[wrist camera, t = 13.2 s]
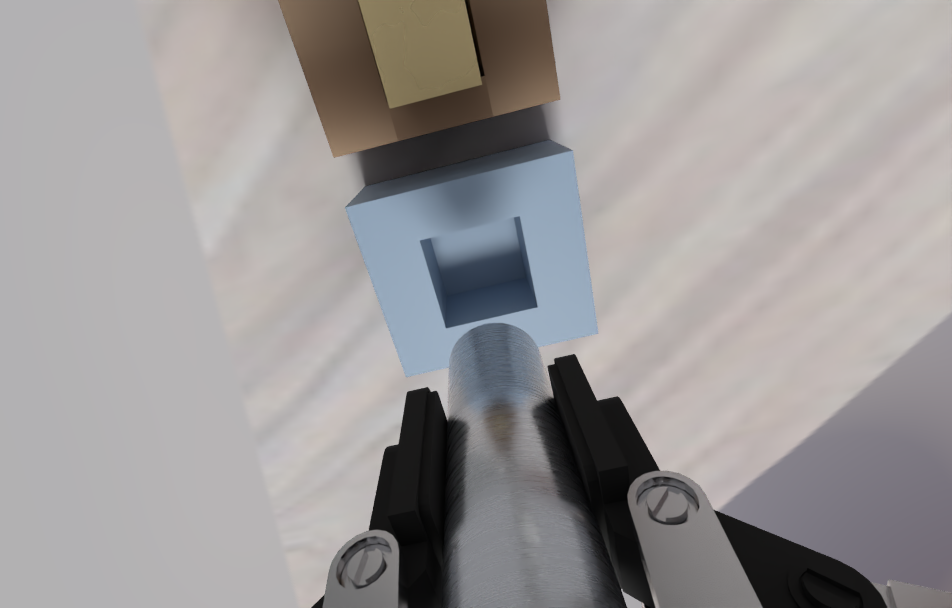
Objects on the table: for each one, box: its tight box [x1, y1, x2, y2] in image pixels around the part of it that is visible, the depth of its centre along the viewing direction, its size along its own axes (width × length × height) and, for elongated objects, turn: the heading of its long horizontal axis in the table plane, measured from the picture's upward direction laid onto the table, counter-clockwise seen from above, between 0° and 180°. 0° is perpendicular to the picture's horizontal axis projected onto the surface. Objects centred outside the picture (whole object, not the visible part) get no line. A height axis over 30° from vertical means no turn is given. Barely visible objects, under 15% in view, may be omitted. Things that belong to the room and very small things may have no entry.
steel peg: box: [441, 323, 627, 608], centre depth 10 cm, size 3×3×10 cm
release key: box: [358, 0, 482, 109], centre depth 18 cm, size 4×4×5 cm
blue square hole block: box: [345, 140, 598, 377], centre depth 24 cm, size 9×10×5 cm
